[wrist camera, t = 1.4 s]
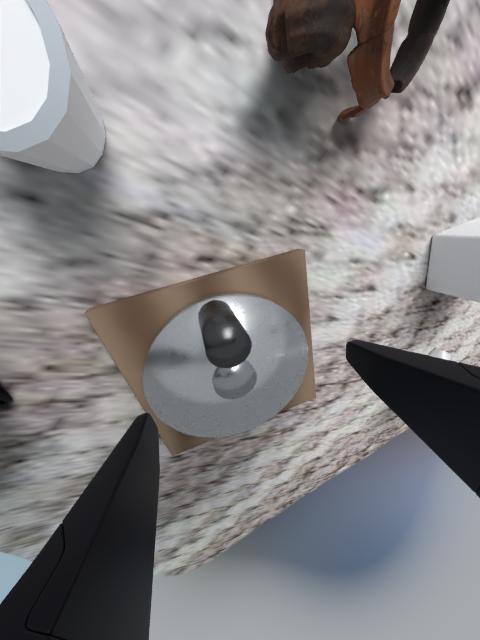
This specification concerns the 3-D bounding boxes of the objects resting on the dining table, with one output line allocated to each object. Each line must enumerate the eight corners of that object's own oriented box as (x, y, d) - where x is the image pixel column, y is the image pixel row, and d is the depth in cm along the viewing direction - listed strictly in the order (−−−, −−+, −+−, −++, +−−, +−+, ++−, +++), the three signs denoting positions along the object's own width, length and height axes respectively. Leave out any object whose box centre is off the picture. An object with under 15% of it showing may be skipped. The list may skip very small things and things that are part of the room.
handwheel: (180, 446, 25) (180, 517, 19) (111, 324, 18) (75, 376, 11) (306, 395, 28) (343, 443, 21) (293, 270, 20) (345, 288, 14)
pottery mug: (351, -114, 13) (538, -235, 9) (333, 97, 21) (427, 91, 16) (205, -65, 10) (365, -204, 6) (246, 155, 18) (330, 168, 14)
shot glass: (133, 174, 15) (102, 137, 9) (30, 193, 14) (-83, 165, 8) (84, 37, 12) (-12, -157, 6) (-51, 47, 11) (-332, -175, 5)
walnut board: (172, 446, 27) (172, 455, 26) (90, 308, 18) (84, 313, 17) (310, 391, 30) (315, 397, 29) (298, 248, 21) (304, 249, 20)
